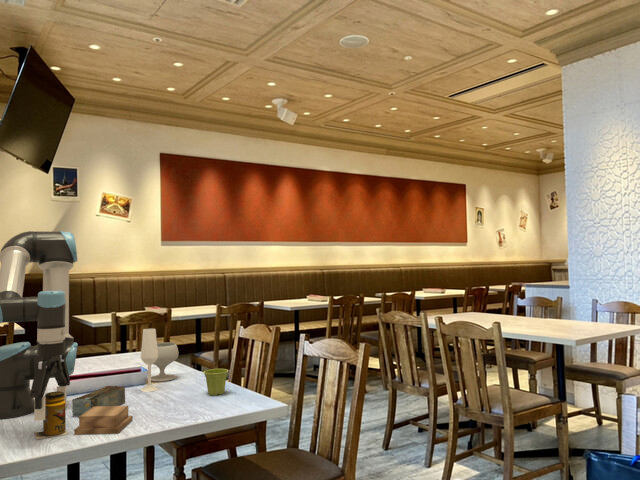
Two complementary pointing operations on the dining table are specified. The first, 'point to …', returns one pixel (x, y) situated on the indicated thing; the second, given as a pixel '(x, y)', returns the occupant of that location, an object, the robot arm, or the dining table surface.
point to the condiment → (53, 416)
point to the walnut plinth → (103, 420)
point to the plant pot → (216, 381)
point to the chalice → (165, 360)
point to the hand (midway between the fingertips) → (51, 413)
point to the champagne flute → (149, 354)
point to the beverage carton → (99, 399)
